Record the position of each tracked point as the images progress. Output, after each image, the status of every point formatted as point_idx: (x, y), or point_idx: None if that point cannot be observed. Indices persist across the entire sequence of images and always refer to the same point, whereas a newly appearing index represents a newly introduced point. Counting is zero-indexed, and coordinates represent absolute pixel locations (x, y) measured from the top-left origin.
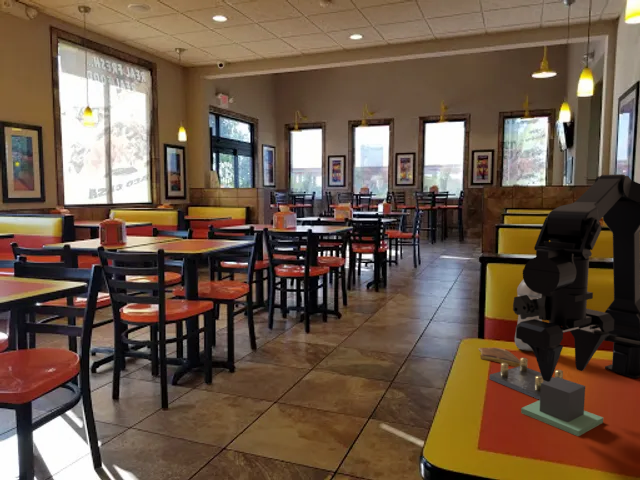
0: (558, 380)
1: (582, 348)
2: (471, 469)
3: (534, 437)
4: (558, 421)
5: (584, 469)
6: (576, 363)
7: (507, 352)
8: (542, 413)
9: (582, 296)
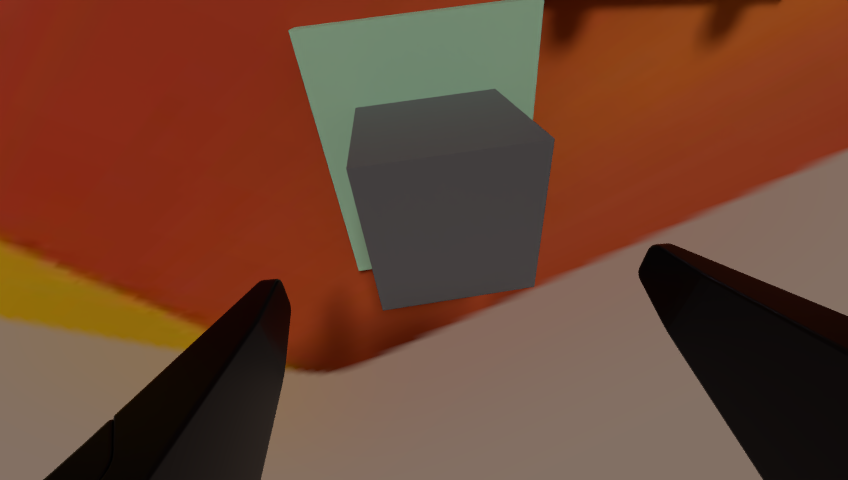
0: (496, 187)
1: (808, 419)
2: None
3: (202, 213)
4: (352, 206)
5: None
6: (684, 271)
7: None
8: (349, 131)
9: None
